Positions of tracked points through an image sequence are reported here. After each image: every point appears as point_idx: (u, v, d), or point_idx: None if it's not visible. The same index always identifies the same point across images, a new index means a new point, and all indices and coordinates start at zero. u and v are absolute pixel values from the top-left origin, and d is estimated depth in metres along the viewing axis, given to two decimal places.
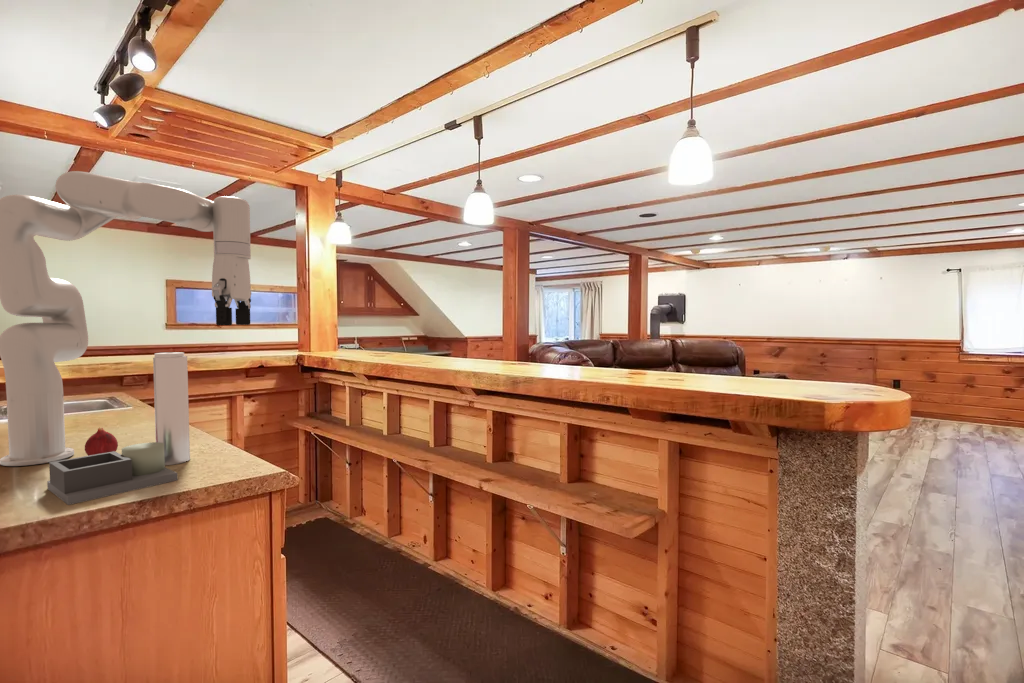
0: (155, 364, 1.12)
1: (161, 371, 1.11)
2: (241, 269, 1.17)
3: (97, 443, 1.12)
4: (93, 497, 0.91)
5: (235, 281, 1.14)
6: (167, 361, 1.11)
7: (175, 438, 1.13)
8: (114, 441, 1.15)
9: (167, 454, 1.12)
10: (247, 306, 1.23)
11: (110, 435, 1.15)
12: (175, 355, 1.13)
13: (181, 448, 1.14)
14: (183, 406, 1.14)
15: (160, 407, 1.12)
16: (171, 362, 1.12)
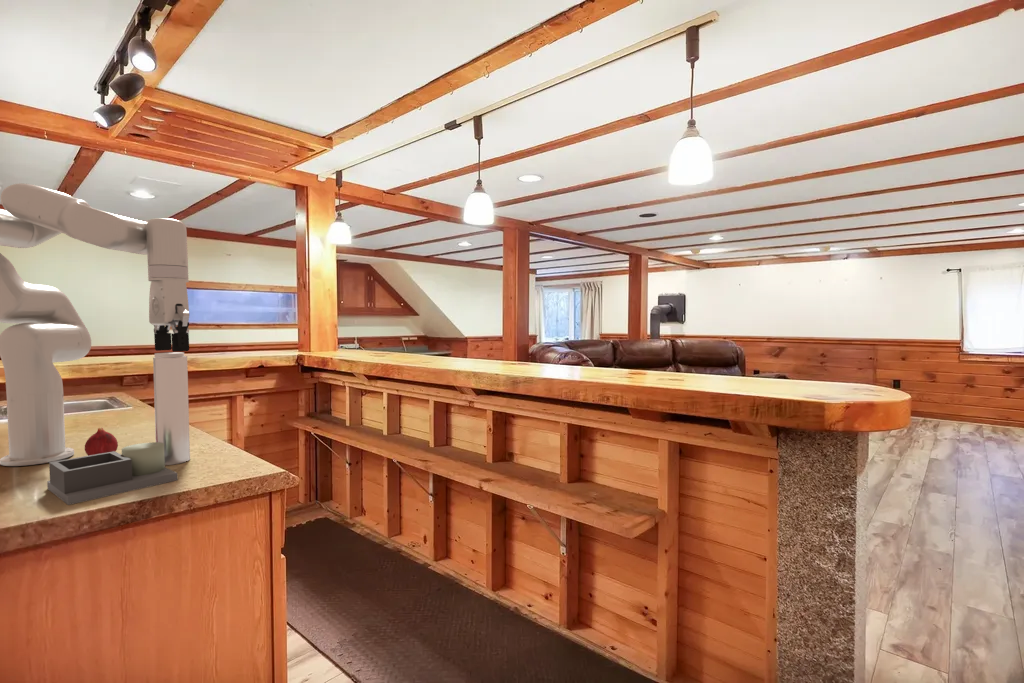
0: (155, 364, 1.12)
1: (161, 371, 1.11)
2: None
3: (97, 443, 1.12)
4: (93, 497, 0.91)
5: None
6: (167, 361, 1.11)
7: (175, 438, 1.13)
8: (114, 441, 1.15)
9: (167, 454, 1.12)
10: (168, 330, 1.18)
11: (110, 435, 1.15)
12: (175, 355, 1.13)
13: (181, 448, 1.14)
14: (183, 406, 1.14)
15: (160, 407, 1.12)
16: (171, 362, 1.12)
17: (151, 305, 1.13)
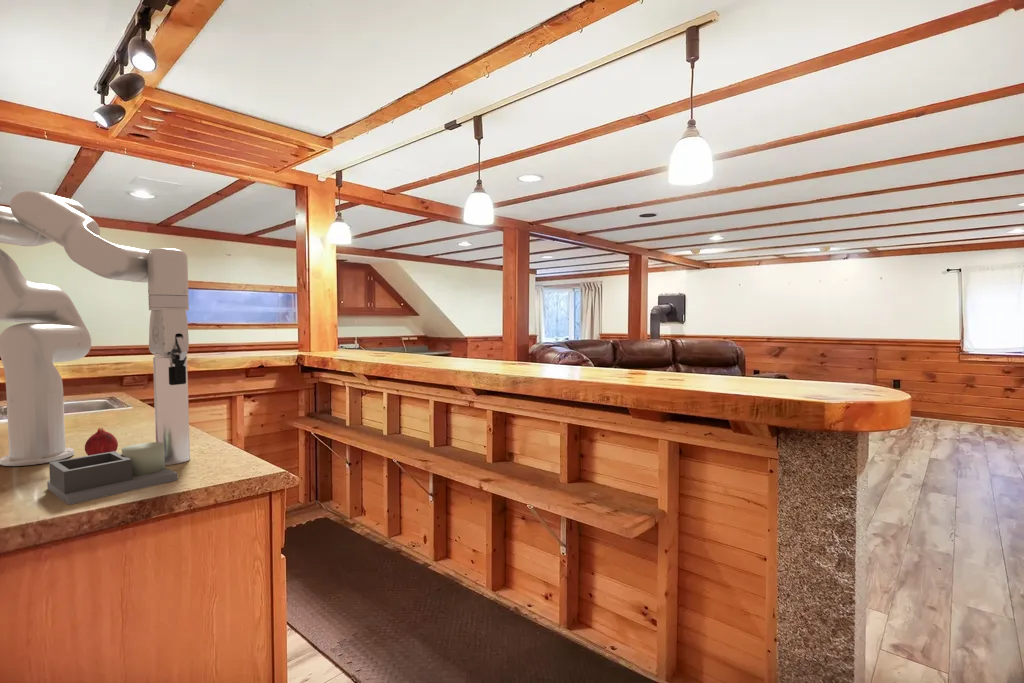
0: (155, 364, 1.12)
1: (161, 371, 1.11)
2: None
3: (97, 443, 1.12)
4: (93, 497, 0.91)
5: None
6: (167, 361, 1.11)
7: (175, 438, 1.13)
8: (114, 441, 1.15)
9: (167, 454, 1.12)
10: None
11: (110, 435, 1.15)
12: None
13: (181, 448, 1.14)
14: (183, 406, 1.14)
15: (160, 407, 1.12)
16: None
17: (151, 334, 1.13)
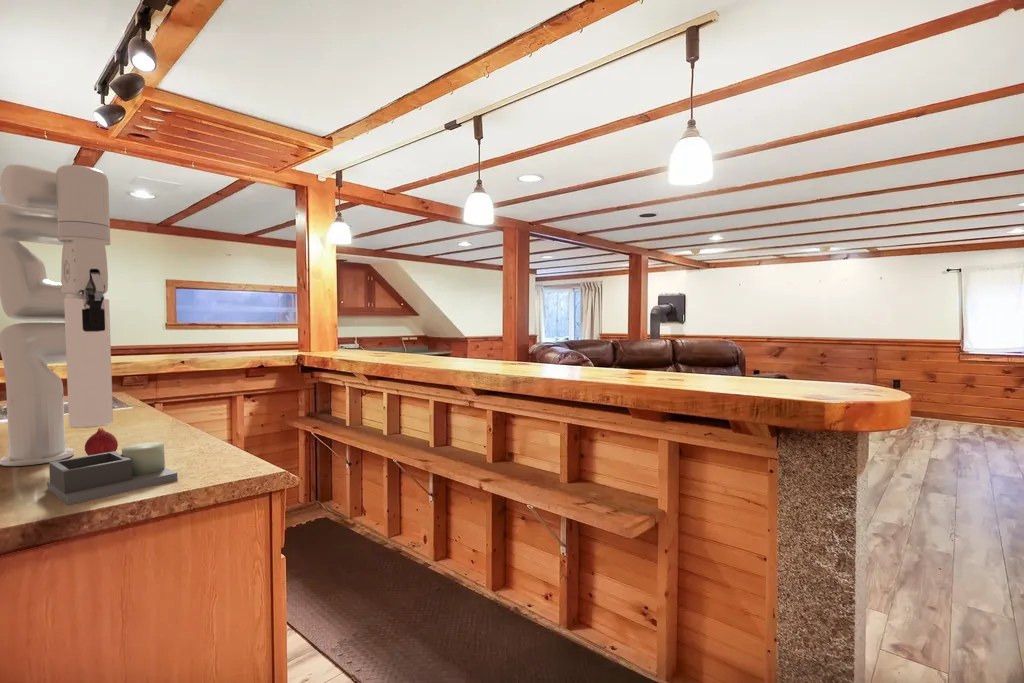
0: (66, 305, 0.92)
1: (73, 314, 0.92)
2: None
3: (97, 443, 1.12)
4: (93, 497, 0.91)
5: None
6: (81, 302, 0.92)
7: (91, 396, 0.94)
8: (114, 441, 1.15)
9: (82, 415, 0.93)
10: None
11: (110, 435, 1.15)
12: None
13: (100, 408, 0.95)
14: (102, 358, 0.95)
15: (72, 358, 0.93)
16: None
17: (63, 271, 0.94)
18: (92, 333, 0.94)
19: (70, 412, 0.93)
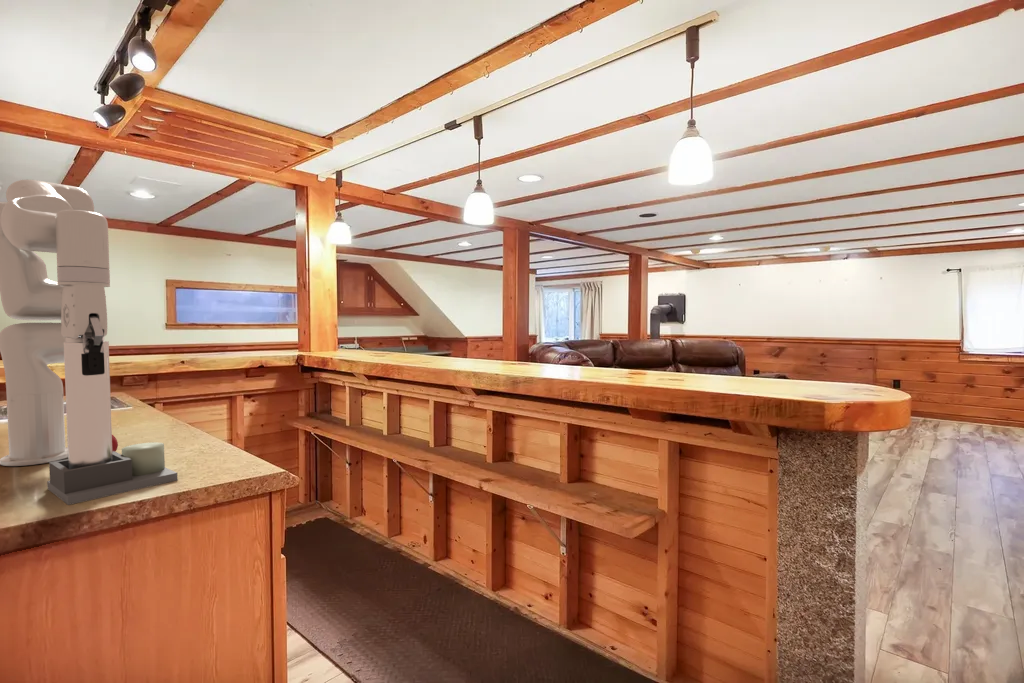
0: (65, 350, 0.92)
1: (73, 358, 0.92)
2: None
3: None
4: (93, 497, 0.91)
5: None
6: (80, 346, 0.92)
7: (91, 439, 0.94)
8: (114, 441, 1.15)
9: (81, 459, 0.93)
10: None
11: None
12: None
13: (99, 451, 0.95)
14: (102, 401, 0.95)
15: (72, 402, 0.93)
16: None
17: (62, 314, 0.94)
18: (91, 377, 0.93)
19: (69, 456, 0.93)
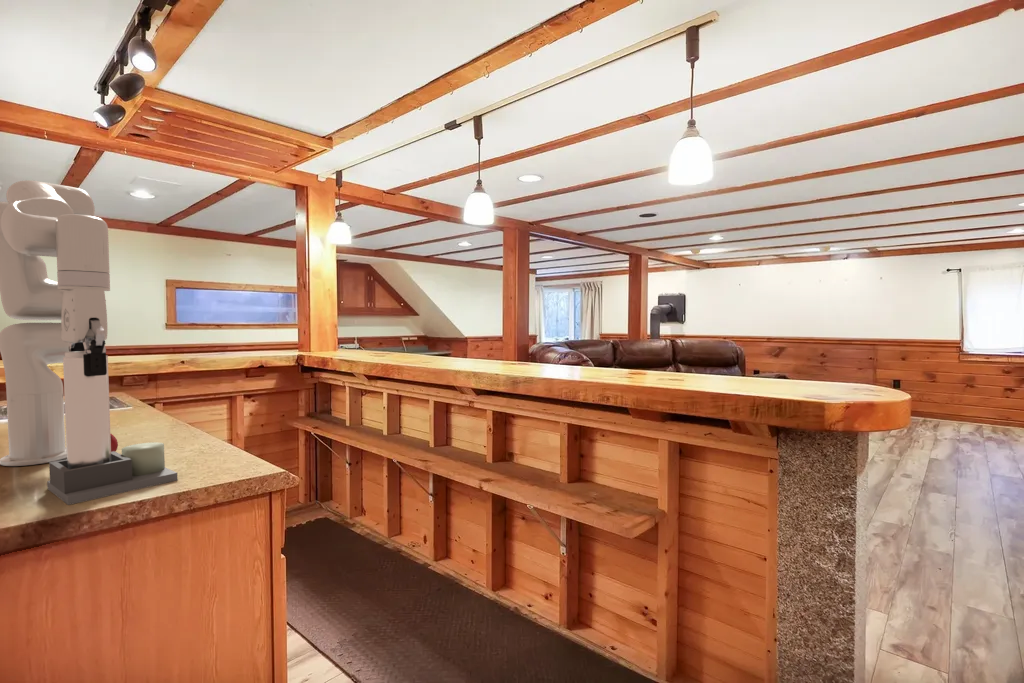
0: (65, 364, 0.93)
1: (72, 373, 0.92)
2: None
3: None
4: (93, 497, 0.91)
5: None
6: (79, 361, 0.93)
7: (90, 454, 0.94)
8: (114, 441, 1.15)
9: None
10: None
11: (110, 435, 1.15)
12: None
13: None
14: (101, 415, 0.95)
15: (71, 417, 0.93)
16: None
17: (62, 318, 0.94)
18: (91, 391, 0.94)
19: None
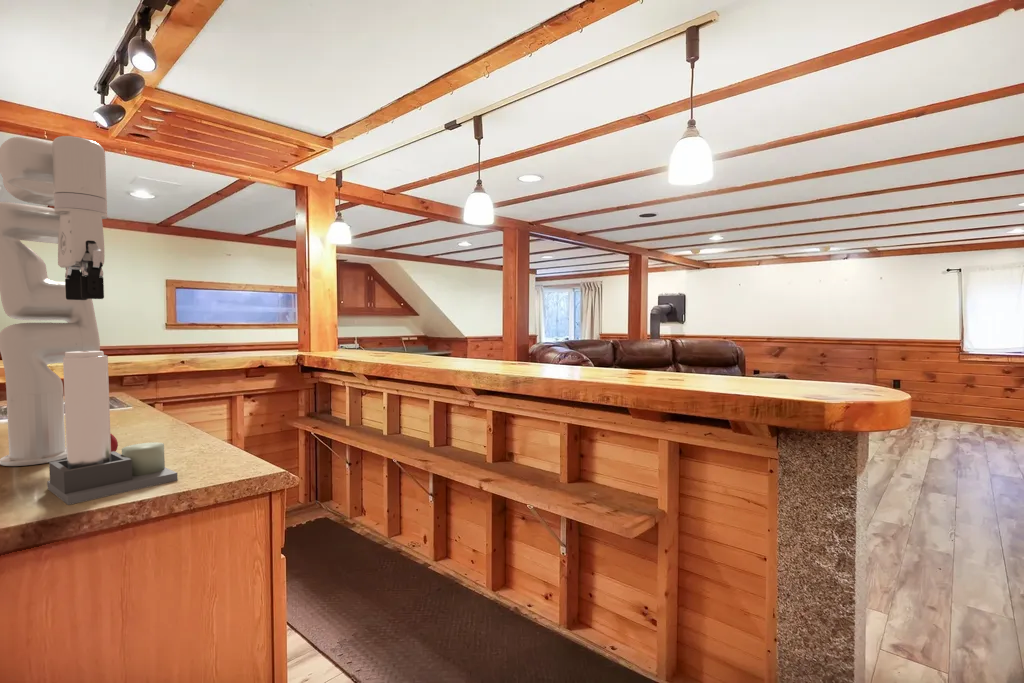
0: (65, 364, 0.93)
1: (72, 373, 0.92)
2: None
3: None
4: (93, 497, 0.91)
5: None
6: (79, 361, 0.93)
7: (90, 454, 0.94)
8: (114, 441, 1.15)
9: None
10: None
11: (110, 435, 1.15)
12: (90, 354, 0.94)
13: None
14: (101, 415, 0.95)
15: (71, 417, 0.93)
16: (84, 363, 0.93)
17: (59, 243, 0.94)
18: (91, 391, 0.94)
19: None
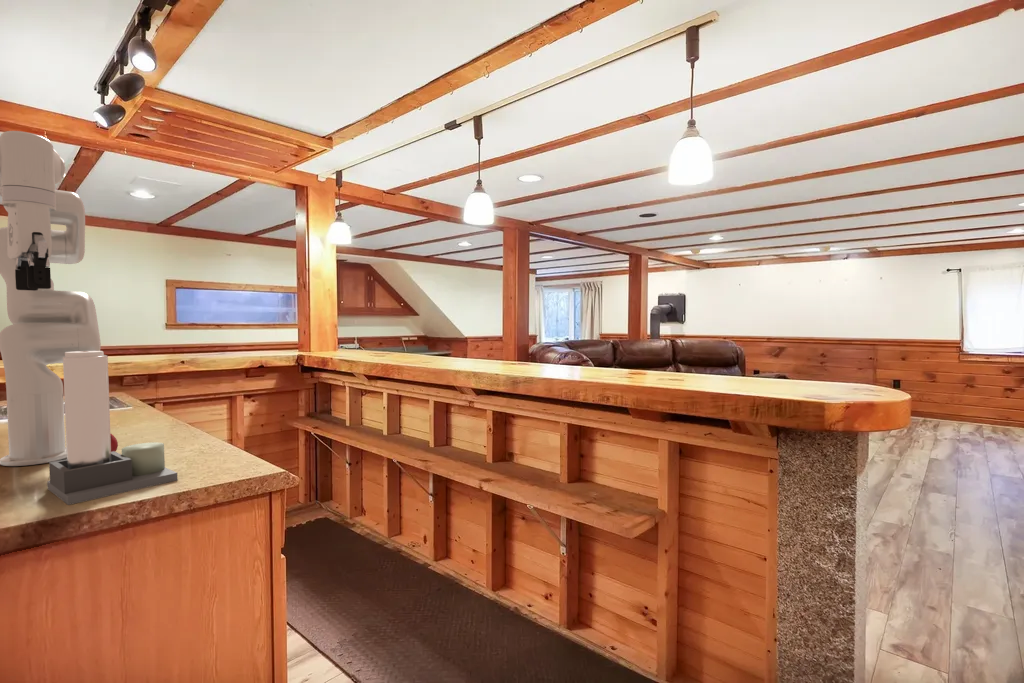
0: (65, 364, 0.93)
1: (72, 373, 0.92)
2: None
3: None
4: (93, 497, 0.91)
5: None
6: (79, 361, 0.93)
7: (90, 454, 0.94)
8: (114, 441, 1.15)
9: None
10: None
11: (110, 435, 1.15)
12: (90, 354, 0.94)
13: None
14: (101, 415, 0.95)
15: (71, 417, 0.93)
16: (84, 363, 0.93)
17: (8, 235, 0.97)
18: (90, 391, 0.94)
19: None
